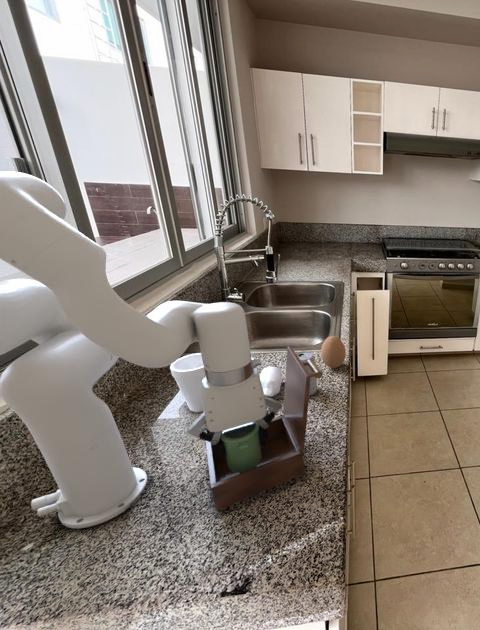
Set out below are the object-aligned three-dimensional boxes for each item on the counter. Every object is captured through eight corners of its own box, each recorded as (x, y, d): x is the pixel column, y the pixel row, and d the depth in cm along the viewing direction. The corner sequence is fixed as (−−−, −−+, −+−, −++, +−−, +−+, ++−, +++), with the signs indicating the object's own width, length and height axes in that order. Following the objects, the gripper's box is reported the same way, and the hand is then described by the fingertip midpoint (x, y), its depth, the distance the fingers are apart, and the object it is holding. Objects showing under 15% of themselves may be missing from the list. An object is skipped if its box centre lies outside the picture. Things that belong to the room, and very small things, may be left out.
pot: (228, 482, 64) (221, 448, 61) (223, 452, 71) (217, 421, 68) (267, 467, 68) (263, 435, 65) (259, 441, 75) (254, 410, 72)
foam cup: (185, 420, 85) (173, 376, 80) (179, 403, 91) (167, 360, 87) (227, 405, 91) (218, 363, 86) (219, 390, 97) (209, 349, 92)
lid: (306, 376, 63) (330, 373, 66) (287, 346, 74) (309, 344, 76) (300, 451, 68) (322, 445, 70) (282, 413, 78) (303, 409, 81)
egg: (350, 362, 113) (348, 333, 109) (340, 374, 107) (338, 343, 102) (329, 359, 115) (326, 330, 111) (317, 371, 108) (314, 340, 104)
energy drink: (310, 385, 101) (306, 349, 96) (321, 392, 98) (317, 355, 93) (294, 393, 97) (289, 355, 92) (304, 400, 94) (300, 362, 89)
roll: (255, 408, 90) (252, 390, 88) (261, 383, 101) (258, 366, 99) (280, 404, 92) (277, 387, 90) (283, 380, 103) (281, 364, 100)
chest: (218, 514, 62) (210, 488, 60) (211, 464, 73) (205, 440, 70) (305, 476, 70) (302, 452, 68) (288, 436, 81) (285, 414, 79)
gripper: (275, 351, 69) (283, 423, 76) (171, 372, 60) (190, 452, 67) (284, 368, 64) (292, 444, 70) (171, 394, 54) (192, 479, 61)
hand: (242, 447), depth 68 cm, fingers closed on pot, 6 cm apart
